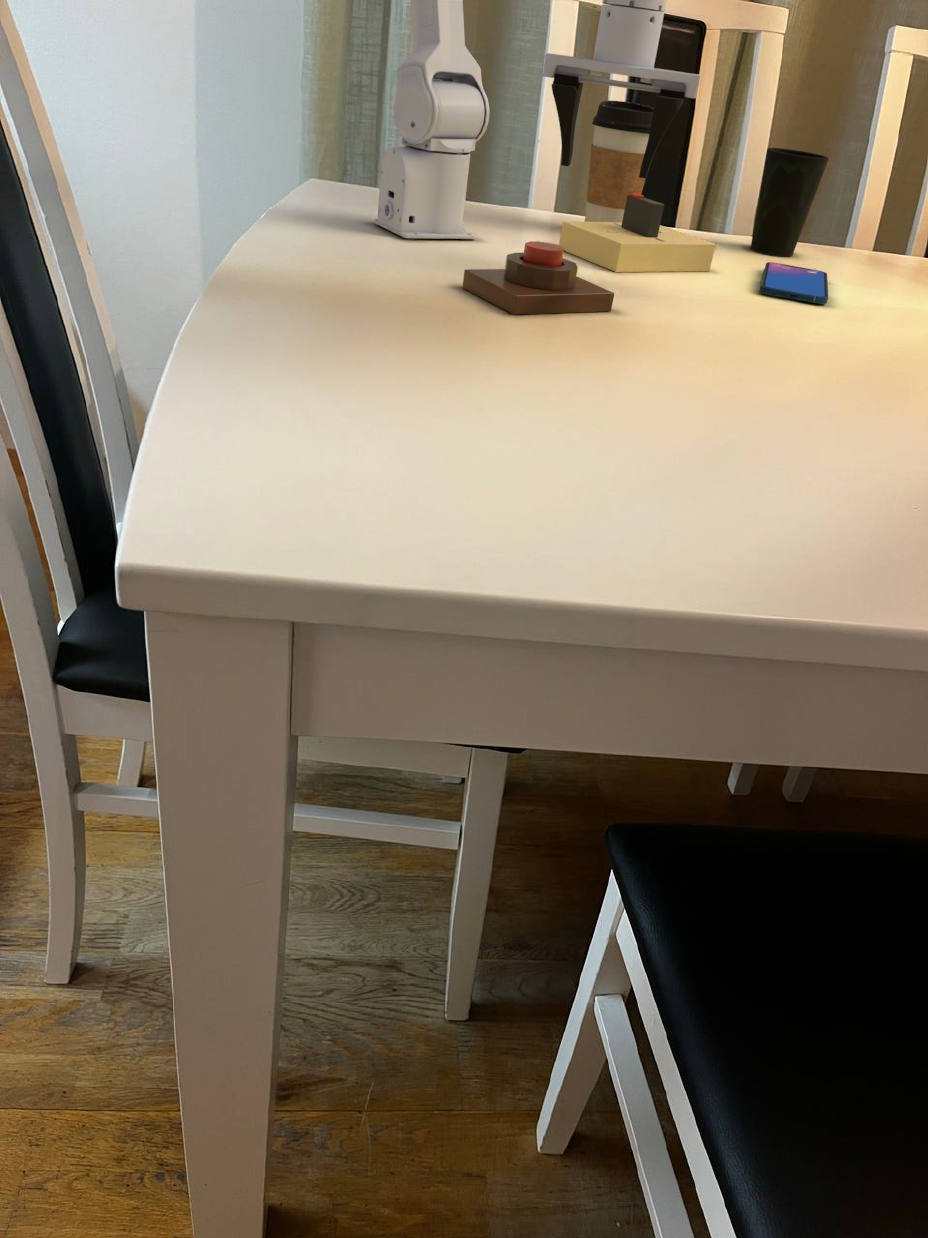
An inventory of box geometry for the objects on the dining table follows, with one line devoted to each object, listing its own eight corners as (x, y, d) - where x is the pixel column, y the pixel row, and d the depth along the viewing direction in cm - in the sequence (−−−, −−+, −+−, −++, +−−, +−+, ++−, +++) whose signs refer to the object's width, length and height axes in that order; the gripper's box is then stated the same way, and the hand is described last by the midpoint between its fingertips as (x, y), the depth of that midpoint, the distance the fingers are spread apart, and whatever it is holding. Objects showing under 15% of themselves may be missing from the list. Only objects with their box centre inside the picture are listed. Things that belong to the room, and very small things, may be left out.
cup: (804, 253, 131) (832, 156, 125) (796, 261, 125) (825, 159, 118) (747, 242, 133) (772, 146, 127) (737, 249, 127) (762, 149, 121)
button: (536, 270, 87) (539, 250, 86) (514, 260, 90) (517, 240, 89) (568, 270, 89) (571, 250, 88) (546, 260, 92) (549, 241, 91)
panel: (615, 271, 106) (621, 241, 104) (558, 248, 114) (562, 219, 112) (709, 270, 113) (716, 242, 111) (649, 248, 120) (654, 221, 119)
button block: (513, 314, 85) (519, 273, 83) (461, 287, 91) (466, 248, 90) (611, 311, 90) (618, 272, 89) (556, 285, 97) (562, 249, 95)
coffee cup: (636, 233, 129) (662, 106, 121) (640, 245, 121) (667, 111, 114) (574, 224, 129) (595, 97, 121) (574, 235, 122) (596, 101, 114)
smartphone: (760, 286, 104) (765, 260, 117) (757, 294, 105) (763, 268, 117) (829, 299, 103) (827, 271, 115) (826, 307, 103) (825, 279, 116)
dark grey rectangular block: (657, 237, 110) (665, 201, 108) (646, 236, 109) (653, 201, 107) (632, 227, 114) (638, 193, 112) (621, 226, 113) (627, 192, 111)
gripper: (712, 20, 91) (678, 177, 98) (560, -1, 92) (537, 155, 100) (713, 18, 85) (677, 185, 92) (550, -4, 87) (527, 162, 94)
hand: (604, 170), depth 95 cm, fingers open, 7 cm apart
